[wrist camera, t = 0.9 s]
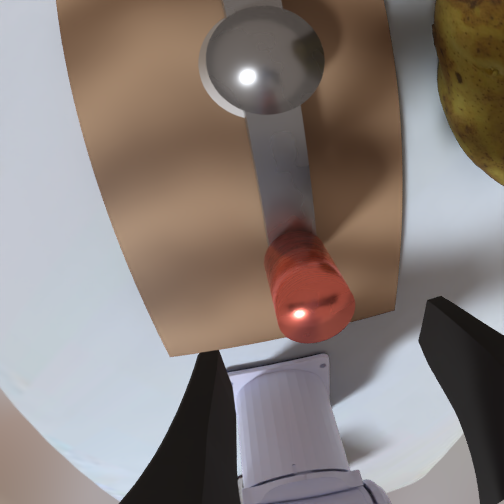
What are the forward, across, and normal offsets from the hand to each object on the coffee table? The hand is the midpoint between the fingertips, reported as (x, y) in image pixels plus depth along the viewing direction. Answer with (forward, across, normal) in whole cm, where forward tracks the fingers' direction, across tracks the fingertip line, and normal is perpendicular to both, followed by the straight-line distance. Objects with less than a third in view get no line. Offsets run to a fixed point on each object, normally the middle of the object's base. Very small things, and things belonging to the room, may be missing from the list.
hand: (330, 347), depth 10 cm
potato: (+9, -12, -8) cm, 17 cm away
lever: (+7, 0, -8) cm, 11 cm away
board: (+9, -6, -5) cm, 11 cm away
